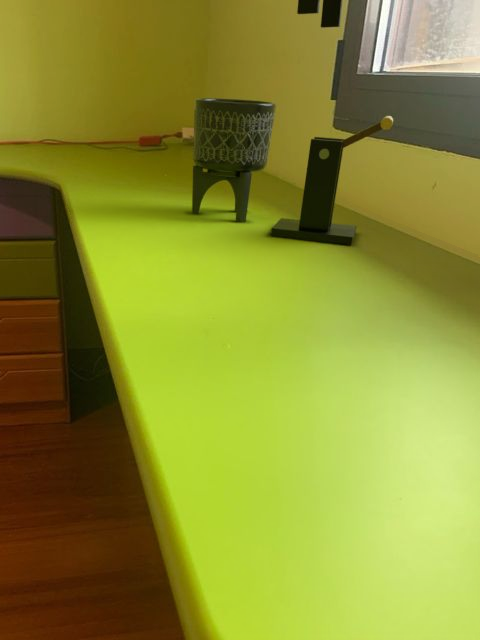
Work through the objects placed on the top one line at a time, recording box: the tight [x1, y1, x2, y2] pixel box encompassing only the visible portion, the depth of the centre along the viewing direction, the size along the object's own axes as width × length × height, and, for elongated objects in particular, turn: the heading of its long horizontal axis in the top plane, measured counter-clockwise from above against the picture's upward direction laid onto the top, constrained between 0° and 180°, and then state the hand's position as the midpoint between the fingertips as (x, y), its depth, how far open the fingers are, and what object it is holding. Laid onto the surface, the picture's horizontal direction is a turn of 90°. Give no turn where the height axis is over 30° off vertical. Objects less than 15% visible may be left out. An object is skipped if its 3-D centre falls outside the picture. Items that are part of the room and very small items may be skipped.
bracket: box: [270, 136, 357, 246], centre depth 104 cm, size 12×9×14 cm
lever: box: [341, 115, 394, 149], centre depth 99 cm, size 11×6×2 cm, turn 74°
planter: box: [191, 97, 277, 223], centre depth 114 cm, size 13×13×18 cm
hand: (319, 20), depth 98 cm, fingers open, 13 cm apart
